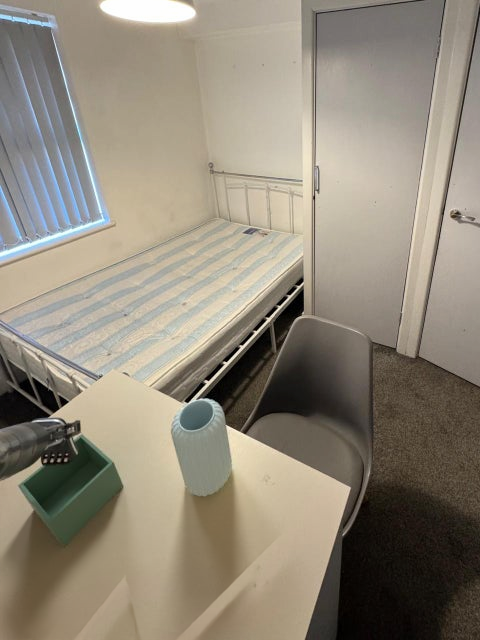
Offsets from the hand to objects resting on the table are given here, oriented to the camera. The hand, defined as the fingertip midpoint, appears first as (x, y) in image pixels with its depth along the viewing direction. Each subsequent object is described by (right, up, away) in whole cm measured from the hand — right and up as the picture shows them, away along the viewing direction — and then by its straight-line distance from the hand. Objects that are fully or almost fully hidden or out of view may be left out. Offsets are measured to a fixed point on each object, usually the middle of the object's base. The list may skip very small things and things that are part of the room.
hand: (51, 434), depth 68 cm
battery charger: (+1, -7, +2) cm, 7 cm away
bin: (+1, -20, +8) cm, 21 cm away
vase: (+30, -18, +12) cm, 37 cm away
